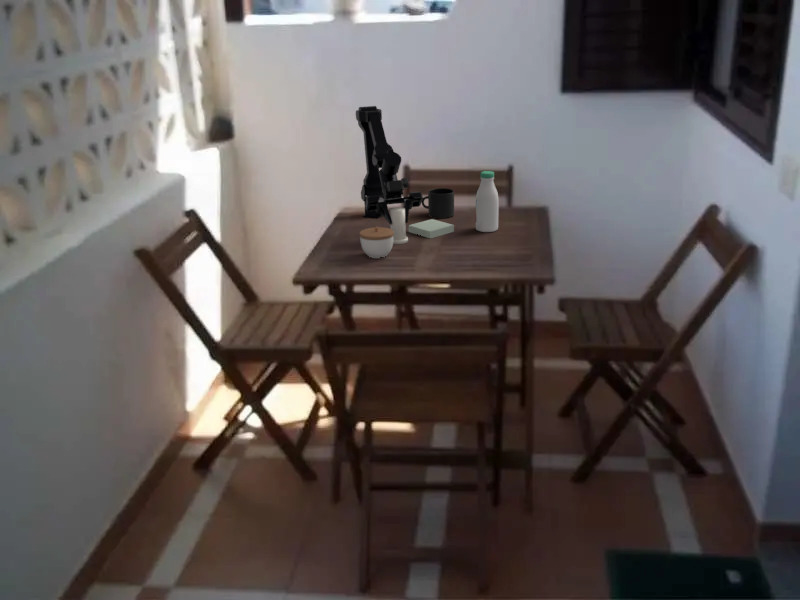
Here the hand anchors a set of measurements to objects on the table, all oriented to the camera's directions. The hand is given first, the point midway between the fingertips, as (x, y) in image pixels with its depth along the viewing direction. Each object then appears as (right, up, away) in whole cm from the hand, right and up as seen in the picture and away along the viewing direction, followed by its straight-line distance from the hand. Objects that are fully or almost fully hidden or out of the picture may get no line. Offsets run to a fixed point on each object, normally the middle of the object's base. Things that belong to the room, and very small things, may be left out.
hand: (398, 223), depth 286 cm
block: (+11, -2, +13) cm, 17 cm away
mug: (+14, +6, +33) cm, 37 cm away
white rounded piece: (0, -6, +4) cm, 7 cm away
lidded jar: (-7, -11, -10) cm, 16 cm away
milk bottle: (+30, -1, +14) cm, 33 cm away
